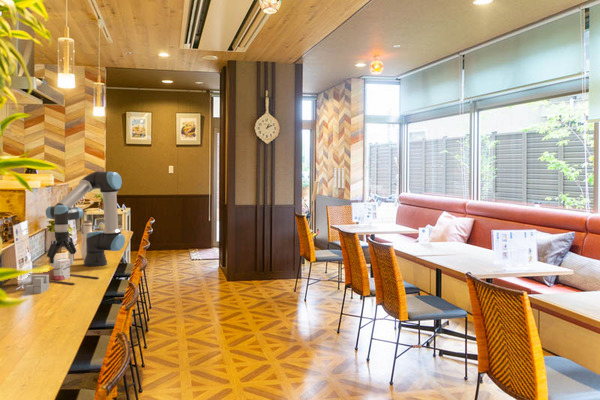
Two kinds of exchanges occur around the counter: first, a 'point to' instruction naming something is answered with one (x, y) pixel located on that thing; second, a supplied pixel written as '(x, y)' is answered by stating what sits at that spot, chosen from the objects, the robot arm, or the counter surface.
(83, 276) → the guide rails
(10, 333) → the counter surface
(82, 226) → the water bottle
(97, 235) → the robot arm
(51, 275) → the end stop
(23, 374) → the counter surface
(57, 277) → the ink box
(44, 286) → the puzzle cube
